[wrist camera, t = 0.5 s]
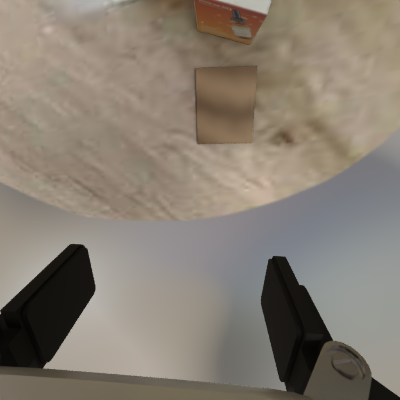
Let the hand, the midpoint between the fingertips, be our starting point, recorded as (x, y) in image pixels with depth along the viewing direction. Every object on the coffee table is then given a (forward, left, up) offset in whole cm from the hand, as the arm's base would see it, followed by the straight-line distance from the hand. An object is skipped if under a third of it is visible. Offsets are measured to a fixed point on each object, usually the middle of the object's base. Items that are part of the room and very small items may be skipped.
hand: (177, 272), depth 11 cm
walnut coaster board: (-9, 0, -29) cm, 30 cm away
